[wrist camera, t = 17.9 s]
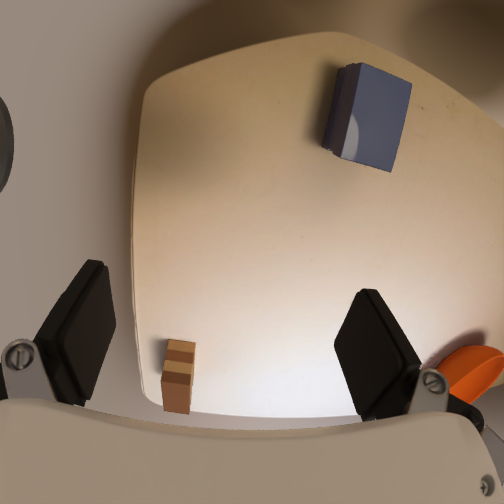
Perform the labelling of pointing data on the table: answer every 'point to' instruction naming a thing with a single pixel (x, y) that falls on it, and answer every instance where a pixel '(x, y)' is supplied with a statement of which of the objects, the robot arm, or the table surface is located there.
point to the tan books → (178, 376)
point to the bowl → (472, 371)
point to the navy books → (337, 107)
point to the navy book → (372, 117)
